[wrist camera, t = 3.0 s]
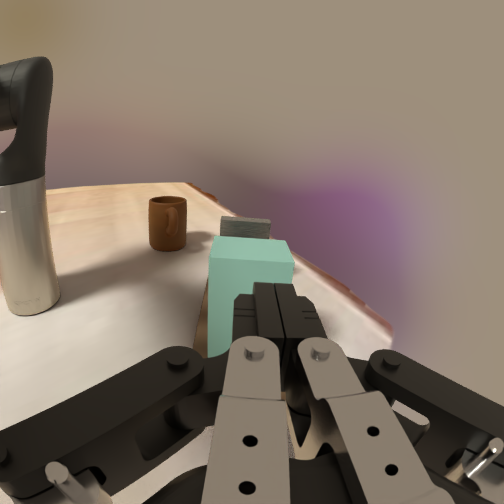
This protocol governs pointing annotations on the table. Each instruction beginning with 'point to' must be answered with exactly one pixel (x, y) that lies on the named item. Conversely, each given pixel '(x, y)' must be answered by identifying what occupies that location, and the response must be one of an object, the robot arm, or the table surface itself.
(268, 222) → the rail
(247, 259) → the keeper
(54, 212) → the table surface
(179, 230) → the mug
